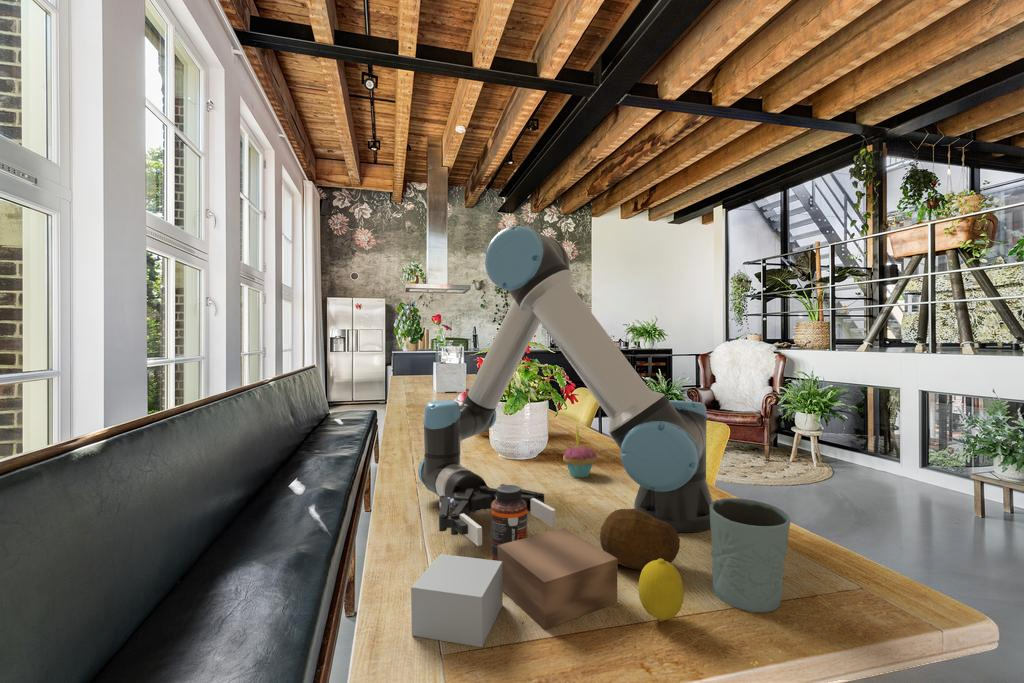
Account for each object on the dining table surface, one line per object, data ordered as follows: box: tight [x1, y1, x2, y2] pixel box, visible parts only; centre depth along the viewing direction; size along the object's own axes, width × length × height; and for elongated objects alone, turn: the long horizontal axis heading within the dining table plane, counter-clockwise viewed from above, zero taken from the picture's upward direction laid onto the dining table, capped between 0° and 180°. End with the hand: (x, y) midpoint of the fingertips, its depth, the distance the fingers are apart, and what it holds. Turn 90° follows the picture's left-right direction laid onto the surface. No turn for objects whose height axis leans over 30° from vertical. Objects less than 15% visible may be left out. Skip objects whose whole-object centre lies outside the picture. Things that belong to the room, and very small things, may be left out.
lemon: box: [637, 558, 685, 623], centre depth 63 cm, size 6×6×8 cm
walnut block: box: [497, 527, 619, 631], centre depth 69 cm, size 12×12×6 cm
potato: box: [599, 508, 681, 571], centre depth 77 cm, size 8×12×9 cm
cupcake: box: [562, 425, 598, 479], centre depth 124 cm, size 9×8×12 cm
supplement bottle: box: [490, 484, 528, 561], centre depth 80 cm, size 6×6×11 cm
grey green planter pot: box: [710, 497, 791, 613], centre depth 69 cm, size 10×10×12 cm
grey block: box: [410, 553, 504, 648], centre depth 63 cm, size 9×9×6 cm
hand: (518, 527), depth 78 cm, fingers open, 13 cm apart
